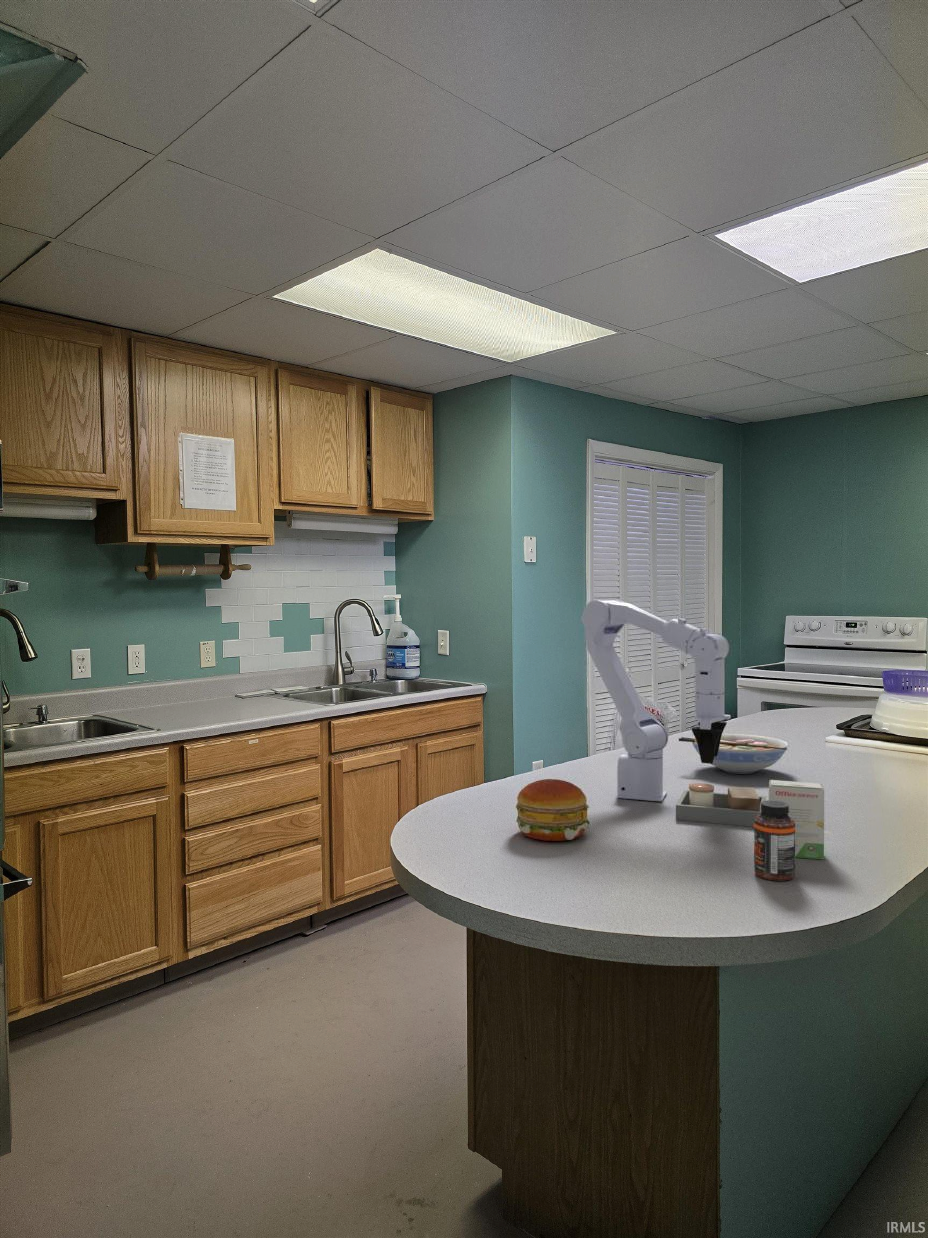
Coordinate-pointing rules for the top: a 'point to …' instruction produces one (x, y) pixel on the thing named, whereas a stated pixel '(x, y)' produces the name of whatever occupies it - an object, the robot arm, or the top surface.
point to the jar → (701, 794)
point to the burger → (552, 810)
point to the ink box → (803, 814)
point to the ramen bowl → (745, 752)
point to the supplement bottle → (774, 842)
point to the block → (743, 799)
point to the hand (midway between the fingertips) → (709, 759)
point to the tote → (715, 811)
